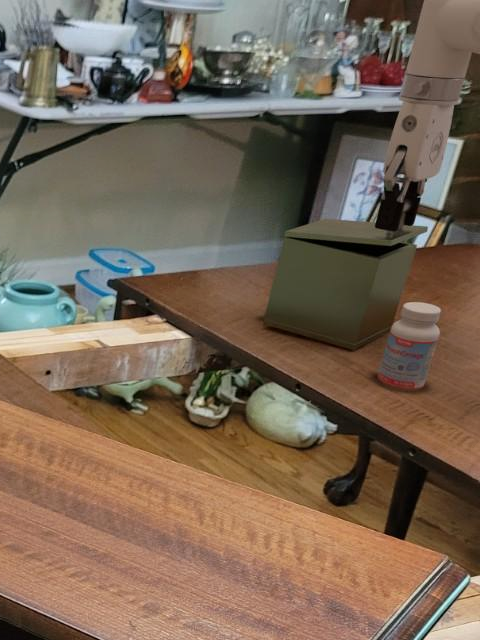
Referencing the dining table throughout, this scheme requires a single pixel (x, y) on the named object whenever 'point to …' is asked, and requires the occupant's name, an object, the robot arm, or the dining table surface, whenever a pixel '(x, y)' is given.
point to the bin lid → (358, 230)
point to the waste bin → (338, 289)
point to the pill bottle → (411, 346)
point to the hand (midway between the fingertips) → (394, 225)
